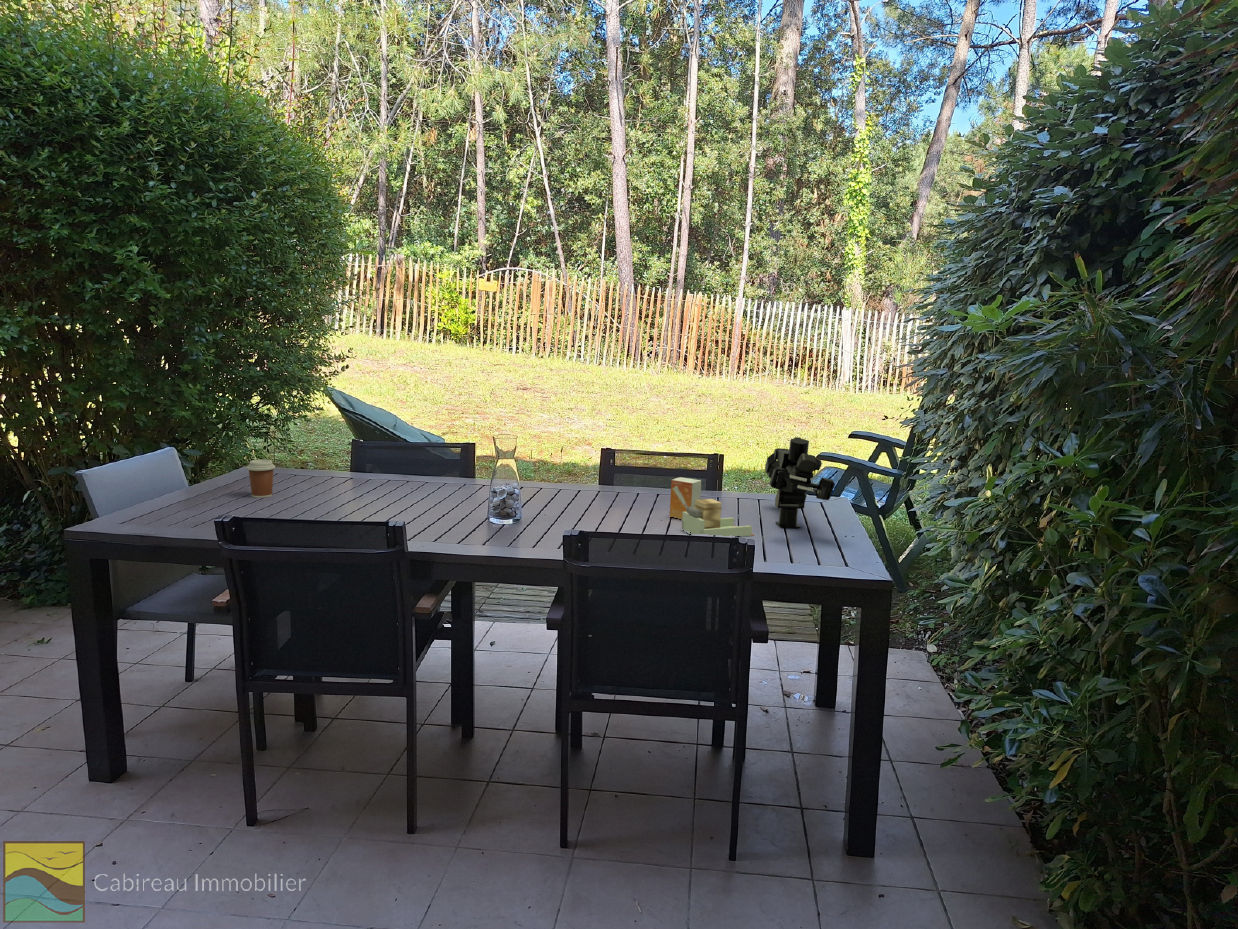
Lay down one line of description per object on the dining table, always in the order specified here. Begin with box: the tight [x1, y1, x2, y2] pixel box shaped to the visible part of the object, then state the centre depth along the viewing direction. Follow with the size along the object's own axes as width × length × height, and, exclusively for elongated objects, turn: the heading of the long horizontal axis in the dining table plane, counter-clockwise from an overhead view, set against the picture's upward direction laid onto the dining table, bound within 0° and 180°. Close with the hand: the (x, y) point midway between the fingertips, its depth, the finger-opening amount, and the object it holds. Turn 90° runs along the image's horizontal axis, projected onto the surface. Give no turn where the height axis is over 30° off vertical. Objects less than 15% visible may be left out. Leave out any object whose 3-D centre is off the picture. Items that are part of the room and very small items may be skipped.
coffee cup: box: [246, 458, 276, 499], centre depth 300 cm, size 9×9×12 cm
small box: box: [669, 476, 702, 520], centre depth 290 cm, size 8×6×13 cm
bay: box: [681, 506, 755, 538], centre depth 273 cm, size 19×12×8 cm, turn 114°
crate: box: [695, 498, 722, 529], centre depth 271 cm, size 6×6×10 cm
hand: (807, 494), depth 258 cm, fingers open, 9 cm apart
